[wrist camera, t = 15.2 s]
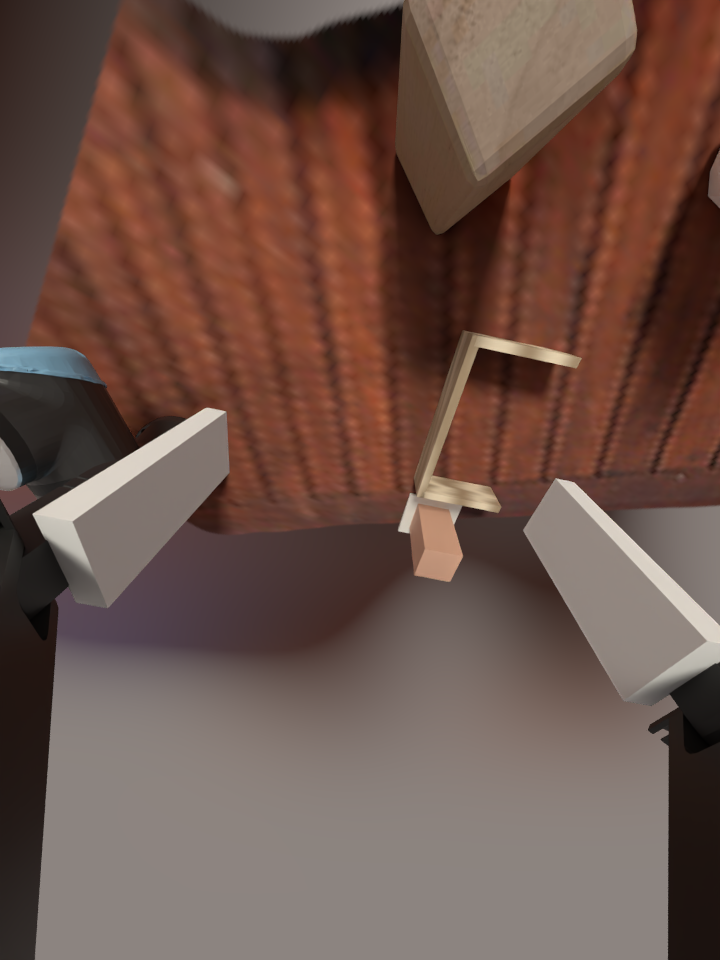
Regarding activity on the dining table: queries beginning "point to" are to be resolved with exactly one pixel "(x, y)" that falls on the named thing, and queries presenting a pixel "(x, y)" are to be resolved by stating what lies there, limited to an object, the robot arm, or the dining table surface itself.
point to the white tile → (415, 500)
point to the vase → (715, 181)
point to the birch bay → (446, 409)
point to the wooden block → (496, 88)
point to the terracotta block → (434, 543)
